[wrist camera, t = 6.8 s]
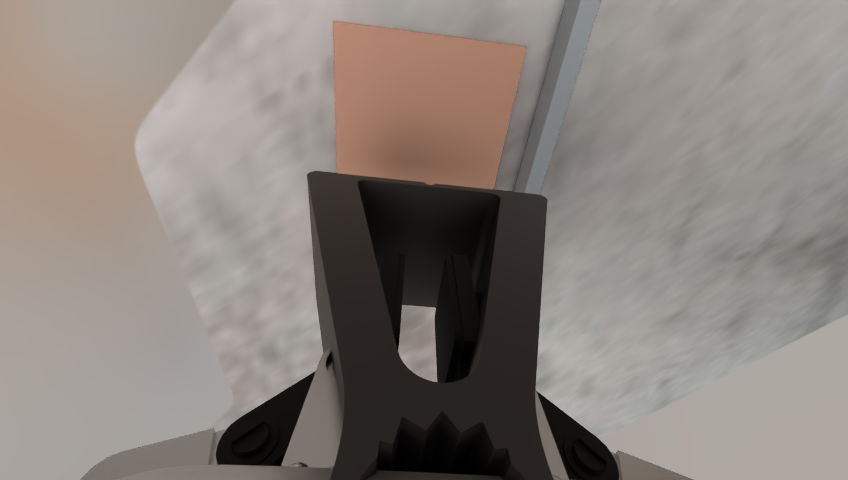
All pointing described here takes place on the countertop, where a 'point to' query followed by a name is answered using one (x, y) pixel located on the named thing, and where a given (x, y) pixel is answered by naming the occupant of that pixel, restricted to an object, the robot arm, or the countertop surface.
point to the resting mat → (422, 104)
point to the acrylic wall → (556, 92)
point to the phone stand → (425, 254)
